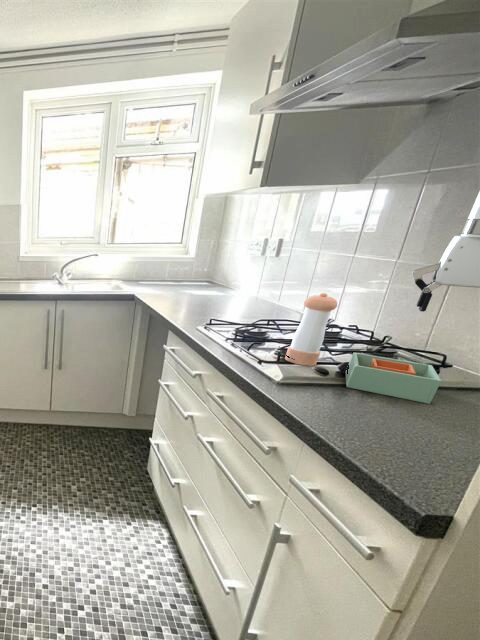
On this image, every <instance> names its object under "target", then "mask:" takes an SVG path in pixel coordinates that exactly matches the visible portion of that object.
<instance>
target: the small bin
mask: <svg viewBox="0 0 480 640" xmlns="http://www.w3.org/2000/svg"><path fill="white" fill-rule="evenodd" d="M369 367H370V368H375V369H381V370H387V371H392V372H398V373H404V374H409V375H415V374H416V373H415V371H414V369H413V367H412V365H410V364H404V363H398V362H392V361H386V360H380V359H374V358H373V359H372V361H371V364H370V366H369Z"/></svg>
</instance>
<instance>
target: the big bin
mask: <svg viewBox="0 0 480 640" xmlns="http://www.w3.org/2000/svg"><path fill="white" fill-rule="evenodd" d="M373 358H374V359H380V360H386V361H392V362H398V363H404V364H410V365H412V367H413V369H414V371H415V373H416V374H415V375H409V374H404V373H398V372H392V371H387V370H381V369H375V368H370V367H369V366H370V364H371V361H372V359H373ZM348 365H349V369H348V374H347V370H345V385H346V388H349V389H354V390H359V391H364V392H369V393H375V394H380V395H384V396H390V397H393V398H400V399H404V400H409V401H413V402H414V401H415V402H418V403H422V404H423V403H424V404H428V405H430V404H431V403H432V400H433V398H434V397H435V395H436V393H437V391H438V388H439V387H440V385H441V383H442V380H441V378H440V377H439V374H438V373H437V371H436V369H435V368H434V366H433V365H432V364H426V363H422V362H421V363H420V362H415V361H408V360H403V359H396V358H391V357H385V356H379V355H373V354H367V353H360V352H353V353H352V355H351V357H350V360H349V362H348Z"/></svg>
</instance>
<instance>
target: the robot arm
mask: <svg viewBox="0 0 480 640" xmlns="http://www.w3.org/2000/svg"><path fill="white" fill-rule="evenodd" d="M428 273H433V275H432V281H429V282H428V283H426V282H425V281H424V279H423V275H425V274H428ZM411 275H412V278H413V282H414V284H415V285H416V286H417V287H418V288H419V290H420V291H421V293H420V296H419V298H418V300H417V302H416V307H418V310H419V312H422V313H424V312H426V310H427V308H428V306H429V303H430V301H431V299H432V297H433V293H432V292H433V291H434V290H435V289H437V288H439V287H441V286H447V287H448V286H449V287H460V288H461V287H463V288H477V289H480V190H479V191H478V194H477V196H476V198H475V201H474V203H473V205H472V208H471V210H470V212H469V214H468V217H467V219H466V221H465V224H464V227H463V229H462V231H461V234H460V235H454V236H453V237H452V238H451V240H450V242H449V243H448V245H447V246H446V248H445V249H444V252H443V254H442V255H441V257H440V260H439V262H438V263H435V264H432V265H431V264H430V265H428V266H424V267H421V268H416V269H414V270H412V272H411Z"/></svg>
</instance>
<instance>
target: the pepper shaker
mask: <svg viewBox="0 0 480 640" xmlns="http://www.w3.org/2000/svg"><path fill="white" fill-rule="evenodd" d="M303 306H304V307H305V310H304V312H303V315H302V319H301V321H300V323H299V325H298V327H297V329H296V330H295V332H294V334H293V337H292V340H291V343H290V345H289V346H288V347H287V351H286V352H285V356H284V360H285V361H287V362H289V363H292V364H296V365H301V366H309V367H310V366H316V365H317V363H318V361H319V358H320V355H321V347H322V345H323V343H324V340H325V334H326V328H327V324H328V321H329V319H330V316H331V313H332V311H334V310H335V309H337V307H338V300H337V299H335V298H334V297H332V296H328V294H327V293H326V292H320V294H316V295H310V296H308V297H306V298H305V300H304V301H303ZM286 355H287V356H289V357H290V358H288V357H287V356H286ZM291 358H293V359H295V360H293V359H291ZM316 361H317V362H316Z"/></svg>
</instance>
